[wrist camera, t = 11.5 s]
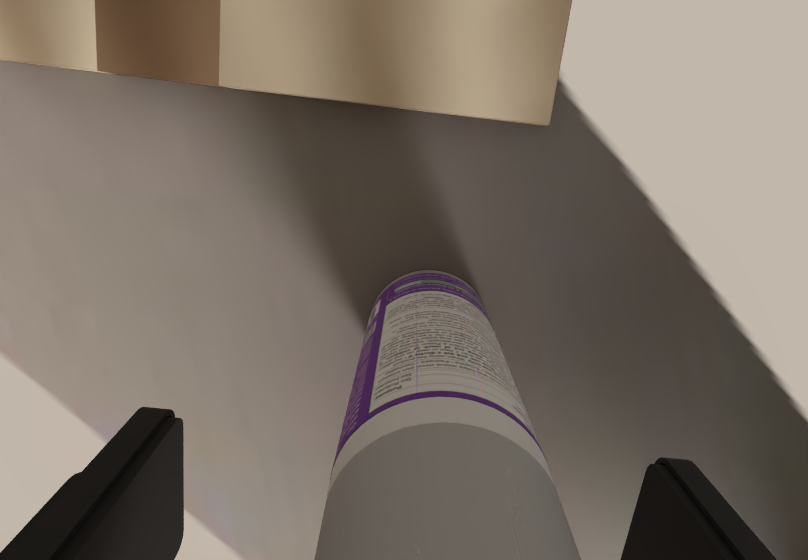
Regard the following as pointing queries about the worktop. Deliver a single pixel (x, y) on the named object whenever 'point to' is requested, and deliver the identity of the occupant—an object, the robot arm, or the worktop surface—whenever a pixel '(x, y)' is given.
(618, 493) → the worktop surface
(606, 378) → the worktop surface
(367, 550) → the container
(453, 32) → the board
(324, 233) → the worktop surface
